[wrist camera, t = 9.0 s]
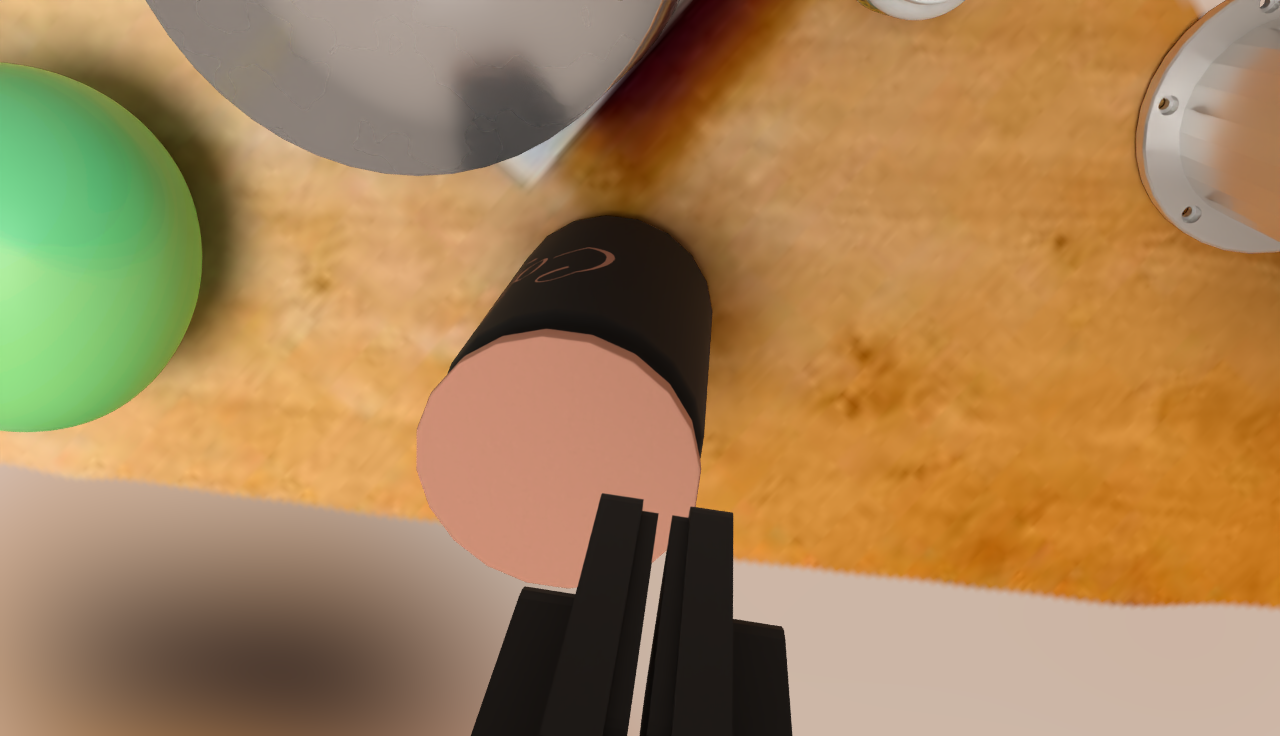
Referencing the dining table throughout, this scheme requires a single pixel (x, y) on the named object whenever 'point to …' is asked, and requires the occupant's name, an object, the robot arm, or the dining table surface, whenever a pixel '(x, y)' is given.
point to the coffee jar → (573, 400)
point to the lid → (410, 71)
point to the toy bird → (86, 253)
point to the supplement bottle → (911, 8)
